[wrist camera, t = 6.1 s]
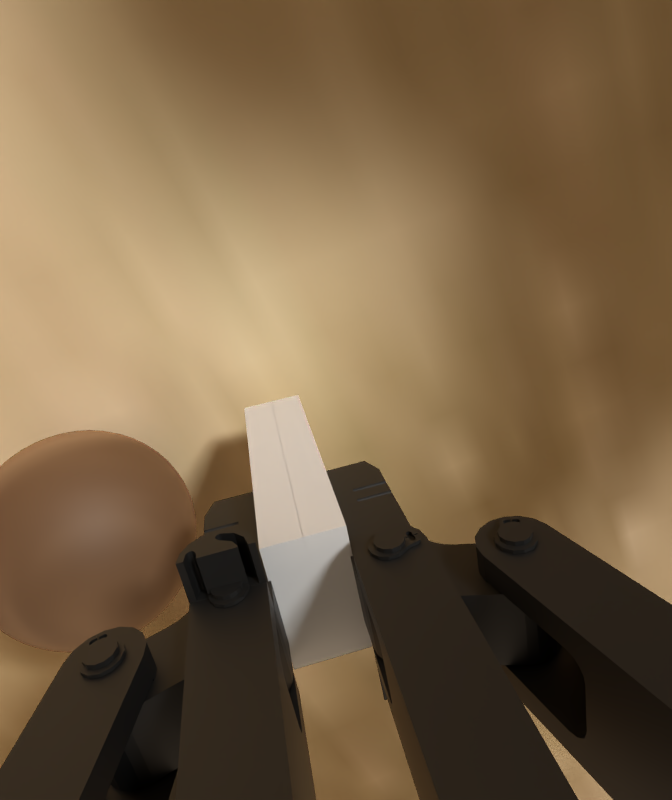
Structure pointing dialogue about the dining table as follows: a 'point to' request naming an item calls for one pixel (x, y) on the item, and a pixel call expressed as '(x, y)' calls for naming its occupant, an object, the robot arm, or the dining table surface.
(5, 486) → the brown ball
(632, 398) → the dining table surface
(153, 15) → the dining table surface
